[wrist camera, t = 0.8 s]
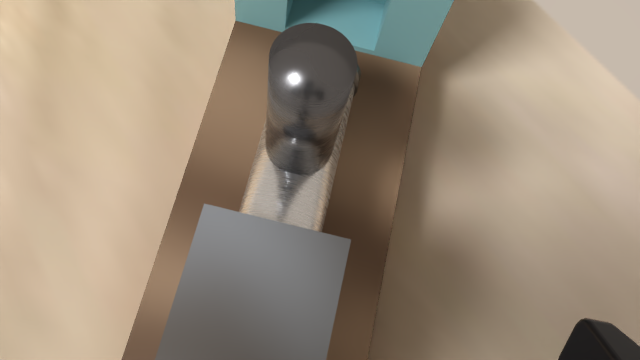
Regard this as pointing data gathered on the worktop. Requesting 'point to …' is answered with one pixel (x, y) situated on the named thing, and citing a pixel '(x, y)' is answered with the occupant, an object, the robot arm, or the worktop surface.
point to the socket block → (359, 22)
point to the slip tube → (302, 125)
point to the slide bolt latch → (276, 229)
